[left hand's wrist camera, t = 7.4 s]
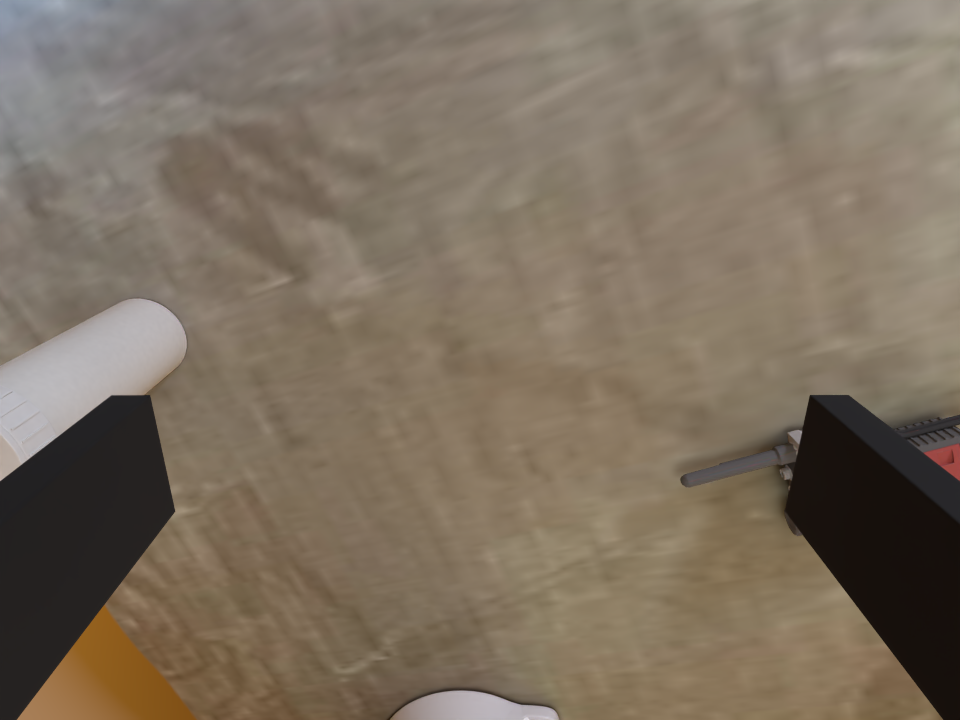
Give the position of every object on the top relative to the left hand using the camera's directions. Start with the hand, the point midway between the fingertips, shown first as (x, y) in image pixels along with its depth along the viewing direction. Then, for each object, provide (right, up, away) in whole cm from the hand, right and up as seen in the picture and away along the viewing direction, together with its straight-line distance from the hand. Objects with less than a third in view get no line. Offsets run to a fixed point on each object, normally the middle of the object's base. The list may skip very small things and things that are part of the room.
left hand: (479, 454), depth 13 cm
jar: (-22, +3, +29) cm, 37 cm away
